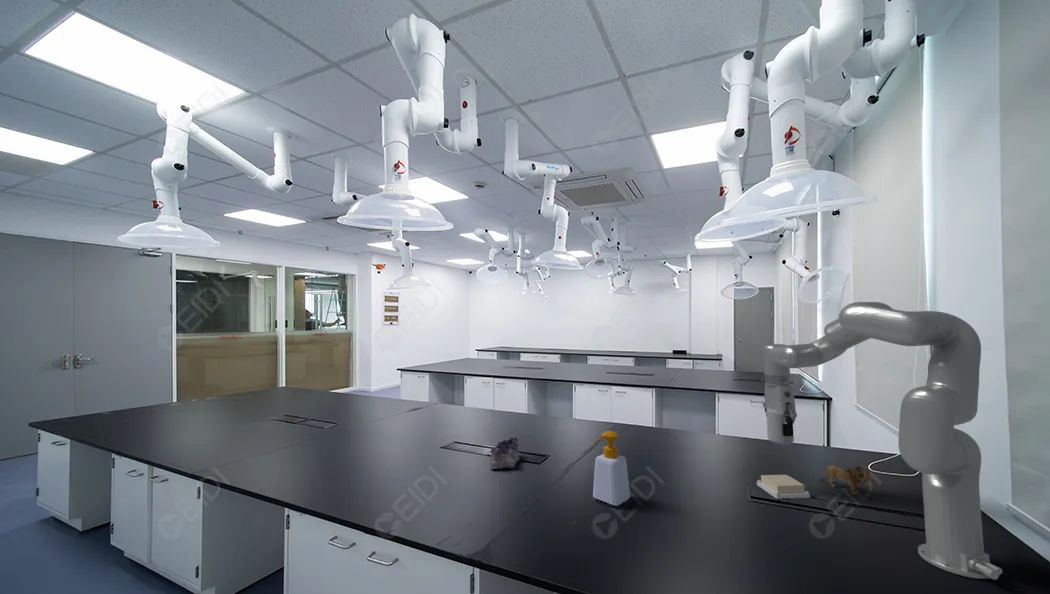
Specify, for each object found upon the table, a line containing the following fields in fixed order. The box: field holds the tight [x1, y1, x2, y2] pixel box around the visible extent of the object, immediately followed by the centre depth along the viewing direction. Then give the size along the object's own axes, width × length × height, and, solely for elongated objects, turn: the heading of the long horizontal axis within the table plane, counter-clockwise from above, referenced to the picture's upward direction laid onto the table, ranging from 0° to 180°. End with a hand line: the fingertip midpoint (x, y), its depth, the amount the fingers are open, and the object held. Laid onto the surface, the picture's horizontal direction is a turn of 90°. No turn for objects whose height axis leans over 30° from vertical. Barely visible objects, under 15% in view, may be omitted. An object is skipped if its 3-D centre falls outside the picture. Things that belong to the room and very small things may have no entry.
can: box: [765, 406, 795, 446], centre depth 138 cm, size 8×8×12 cm
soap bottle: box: [592, 430, 631, 507], centre depth 131 cm, size 10×14×22 cm
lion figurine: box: [819, 465, 872, 495], centre depth 138 cm, size 15×5×9 cm, turn 34°
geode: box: [488, 437, 521, 470], centre depth 169 cm, size 20×12×10 cm, turn 169°
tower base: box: [756, 474, 811, 500], centre depth 137 cm, size 11×11×4 cm
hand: (780, 432), depth 138 cm, fingers closed on can, 7 cm apart
